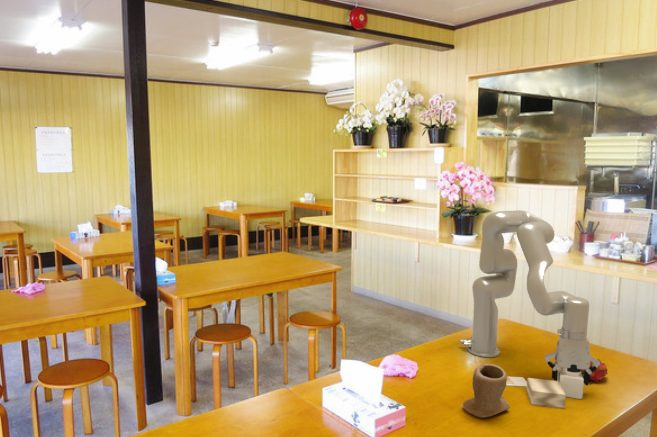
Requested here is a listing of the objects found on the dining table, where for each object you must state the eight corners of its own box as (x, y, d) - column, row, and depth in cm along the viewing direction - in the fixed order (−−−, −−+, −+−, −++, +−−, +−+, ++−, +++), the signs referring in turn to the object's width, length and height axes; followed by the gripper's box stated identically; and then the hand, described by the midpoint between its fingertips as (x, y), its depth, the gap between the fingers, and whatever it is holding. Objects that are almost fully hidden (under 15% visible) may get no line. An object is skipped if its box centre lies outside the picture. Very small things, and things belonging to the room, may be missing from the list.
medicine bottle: (579, 390, 173) (582, 357, 172) (582, 399, 166) (585, 365, 165) (556, 386, 175) (559, 354, 174) (558, 395, 169) (561, 362, 167)
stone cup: (485, 426, 149) (488, 378, 147) (457, 408, 159) (459, 363, 157) (520, 414, 156) (523, 368, 154) (491, 397, 167) (494, 354, 165)
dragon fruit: (575, 384, 181) (601, 385, 184) (592, 379, 174) (619, 380, 177) (568, 360, 185) (594, 362, 189) (585, 354, 178) (612, 356, 182)
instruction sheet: (500, 385, 176) (500, 384, 176) (495, 376, 182) (495, 375, 182) (529, 386, 175) (529, 385, 175) (523, 377, 182) (523, 377, 182)
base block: (531, 405, 162) (532, 391, 162) (526, 391, 172) (527, 377, 172) (564, 409, 160) (565, 394, 160) (557, 395, 170) (558, 381, 169)
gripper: (548, 335, 166) (545, 384, 169) (605, 340, 163) (601, 390, 165) (544, 327, 174) (541, 374, 176) (598, 332, 170) (594, 380, 172)
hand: (570, 382), depth 170 cm, fingers open, 9 cm apart
